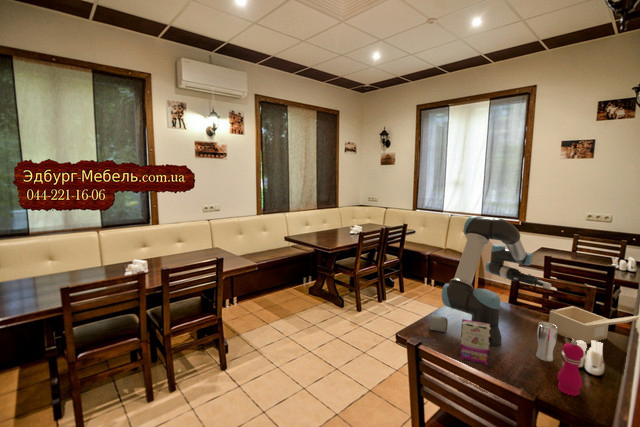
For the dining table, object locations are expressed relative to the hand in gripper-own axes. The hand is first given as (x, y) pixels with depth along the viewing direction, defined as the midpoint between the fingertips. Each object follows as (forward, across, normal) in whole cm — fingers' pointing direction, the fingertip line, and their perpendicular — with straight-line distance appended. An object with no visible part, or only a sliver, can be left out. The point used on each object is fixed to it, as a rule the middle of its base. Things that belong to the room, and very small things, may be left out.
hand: (550, 286), depth 168 cm
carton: (+15, 0, -20) cm, 24 cm away
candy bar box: (+14, +66, -21) cm, 71 cm away
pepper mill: (+41, +49, -21) cm, 67 cm away
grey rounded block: (-13, +63, -21) cm, 67 cm away
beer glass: (+23, +36, -20) cm, 48 cm away
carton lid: (+30, 0, -5) cm, 30 cm away
